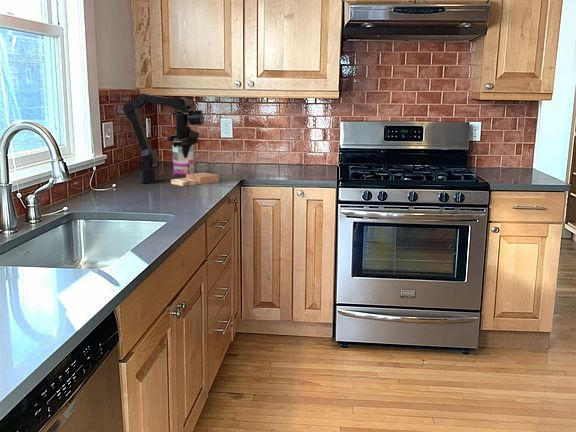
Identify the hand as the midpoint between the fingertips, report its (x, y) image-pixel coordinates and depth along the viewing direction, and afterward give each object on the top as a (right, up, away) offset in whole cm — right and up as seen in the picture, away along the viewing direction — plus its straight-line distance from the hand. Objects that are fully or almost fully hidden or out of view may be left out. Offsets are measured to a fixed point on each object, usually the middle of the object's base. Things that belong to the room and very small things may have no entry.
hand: (182, 157), depth 273 cm
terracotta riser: (+8, -11, +10) cm, 17 cm away
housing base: (0, -1, 0) cm, 1 cm away
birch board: (0, -13, +3) cm, 13 cm away
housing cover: (0, +3, -1) cm, 3 cm away
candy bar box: (-5, -6, +32) cm, 33 cm away
